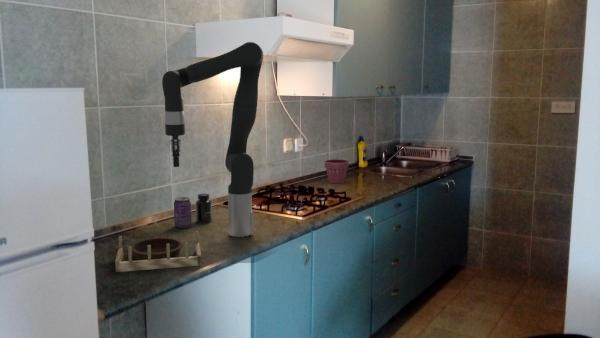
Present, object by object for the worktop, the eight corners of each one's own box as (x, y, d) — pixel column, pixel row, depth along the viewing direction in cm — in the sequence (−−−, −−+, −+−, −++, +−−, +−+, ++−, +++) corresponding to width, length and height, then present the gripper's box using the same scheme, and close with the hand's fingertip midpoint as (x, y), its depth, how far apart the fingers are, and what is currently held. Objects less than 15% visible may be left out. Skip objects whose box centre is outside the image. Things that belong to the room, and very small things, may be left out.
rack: (199, 250, 192) (198, 229, 190) (201, 265, 177) (200, 242, 176) (119, 256, 185) (118, 234, 184) (115, 272, 171) (114, 248, 170)
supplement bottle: (209, 223, 226) (208, 196, 224) (193, 223, 227) (192, 195, 225) (214, 219, 233) (213, 193, 231) (199, 218, 234) (198, 192, 232)
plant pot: (326, 179, 323) (326, 158, 320) (349, 180, 320) (349, 159, 318) (322, 184, 309) (323, 162, 307) (346, 185, 306) (347, 163, 304)
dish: (159, 245, 198) (159, 233, 197) (197, 259, 184) (196, 245, 183) (117, 257, 185) (116, 244, 184) (154, 273, 171) (154, 258, 170)
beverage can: (182, 223, 227) (181, 195, 225) (195, 225, 223) (194, 198, 221) (171, 227, 221) (169, 199, 219) (183, 229, 217) (182, 201, 215)
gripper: (185, 124, 201) (186, 169, 204) (184, 121, 213) (185, 163, 216) (164, 124, 199) (166, 169, 202) (164, 121, 212) (166, 164, 215)
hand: (176, 166), depth 209 cm, fingers closed
